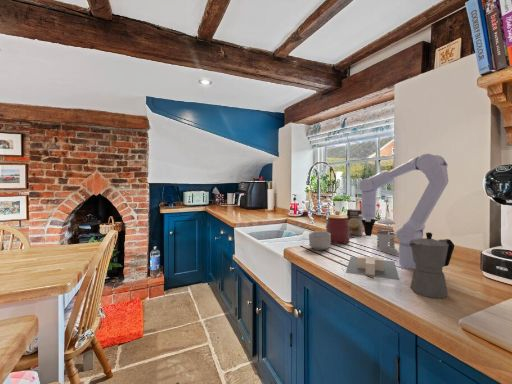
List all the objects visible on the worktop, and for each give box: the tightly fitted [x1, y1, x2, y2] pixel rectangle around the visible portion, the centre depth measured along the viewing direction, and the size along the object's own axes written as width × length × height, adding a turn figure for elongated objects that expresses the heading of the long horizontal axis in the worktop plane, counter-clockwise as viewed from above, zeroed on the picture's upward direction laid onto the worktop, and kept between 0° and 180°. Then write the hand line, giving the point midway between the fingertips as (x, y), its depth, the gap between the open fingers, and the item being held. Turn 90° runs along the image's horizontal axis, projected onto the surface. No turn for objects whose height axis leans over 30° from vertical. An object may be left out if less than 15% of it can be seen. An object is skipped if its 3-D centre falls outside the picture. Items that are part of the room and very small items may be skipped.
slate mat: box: [345, 256, 400, 281], centre depth 96 cm, size 17×22×1 cm
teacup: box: [308, 230, 331, 251], centre depth 126 cm, size 14×11×8 cm
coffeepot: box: [409, 232, 455, 299], centre depth 74 cm, size 15×9×18 cm, turn 101°
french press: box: [374, 199, 398, 252], centre depth 122 cm, size 10×12×25 cm
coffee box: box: [346, 208, 364, 236], centre depth 160 cm, size 9×6×16 cm
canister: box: [325, 210, 351, 244], centre depth 141 cm, size 13×13×18 cm
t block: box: [356, 255, 385, 275], centre depth 91 cm, size 9×9×4 cm
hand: (368, 235), depth 111 cm, fingers closed
